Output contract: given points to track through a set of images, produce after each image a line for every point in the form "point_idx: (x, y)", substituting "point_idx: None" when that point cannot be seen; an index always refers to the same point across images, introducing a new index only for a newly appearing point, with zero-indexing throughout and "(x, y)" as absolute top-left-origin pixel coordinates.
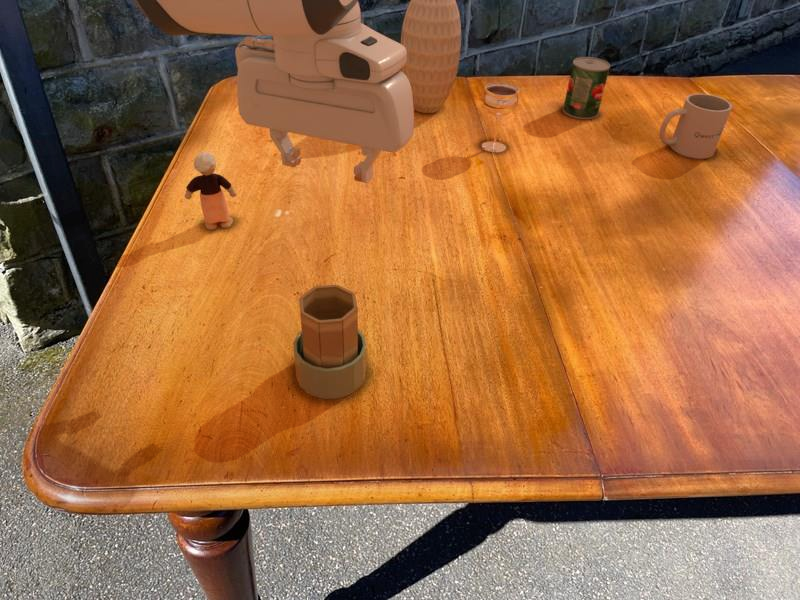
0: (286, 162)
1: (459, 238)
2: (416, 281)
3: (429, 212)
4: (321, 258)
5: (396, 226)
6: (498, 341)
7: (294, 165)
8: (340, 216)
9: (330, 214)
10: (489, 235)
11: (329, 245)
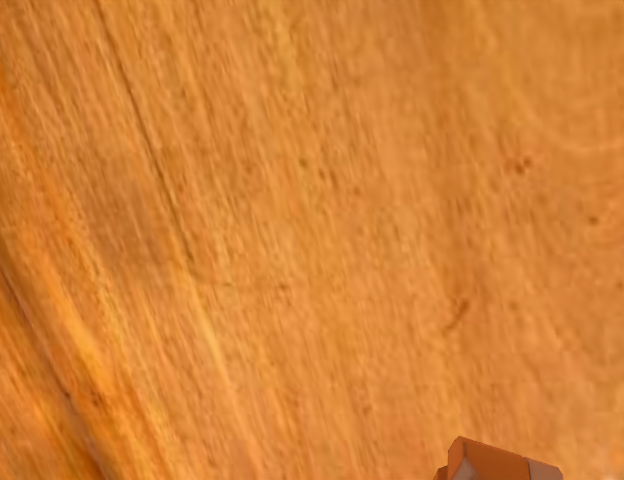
0: (522, 476)
1: (175, 395)
2: (225, 249)
3: (257, 475)
4: (477, 314)
5: (316, 432)
6: (6, 70)
7: (455, 452)
8: None
9: None
10: (122, 405)
11: (466, 364)
